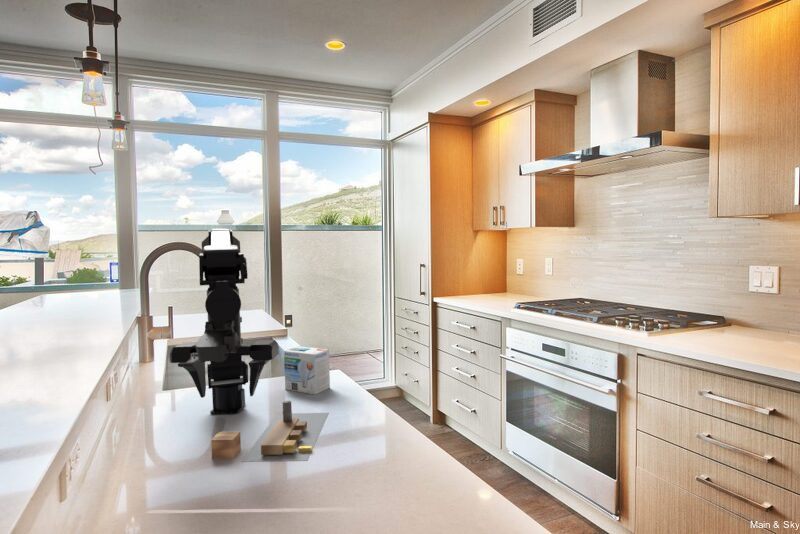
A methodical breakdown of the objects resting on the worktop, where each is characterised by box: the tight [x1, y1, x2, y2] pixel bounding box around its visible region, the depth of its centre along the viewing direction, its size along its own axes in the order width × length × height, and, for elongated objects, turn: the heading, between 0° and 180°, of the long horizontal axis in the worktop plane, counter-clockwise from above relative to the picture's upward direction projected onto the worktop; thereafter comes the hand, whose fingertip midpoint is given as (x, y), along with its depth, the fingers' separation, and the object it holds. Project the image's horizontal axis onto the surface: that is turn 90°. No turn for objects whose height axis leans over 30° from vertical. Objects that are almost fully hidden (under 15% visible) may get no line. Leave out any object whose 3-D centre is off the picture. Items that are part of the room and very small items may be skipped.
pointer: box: [298, 446, 313, 453], centre depth 96 cm, size 2×1×1 cm, turn 89°
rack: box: [261, 400, 307, 455], centre depth 100 cm, size 6×14×6 cm, turn 179°
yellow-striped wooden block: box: [210, 430, 242, 460], centre depth 95 cm, size 4×4×4 cm
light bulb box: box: [283, 345, 331, 395], centre depth 137 cm, size 11×7×11 cm, turn 62°
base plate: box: [241, 412, 330, 463], centre depth 104 cm, size 12×25×1 cm, turn 179°
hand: (227, 396), depth 95 cm, fingers open, 9 cm apart
